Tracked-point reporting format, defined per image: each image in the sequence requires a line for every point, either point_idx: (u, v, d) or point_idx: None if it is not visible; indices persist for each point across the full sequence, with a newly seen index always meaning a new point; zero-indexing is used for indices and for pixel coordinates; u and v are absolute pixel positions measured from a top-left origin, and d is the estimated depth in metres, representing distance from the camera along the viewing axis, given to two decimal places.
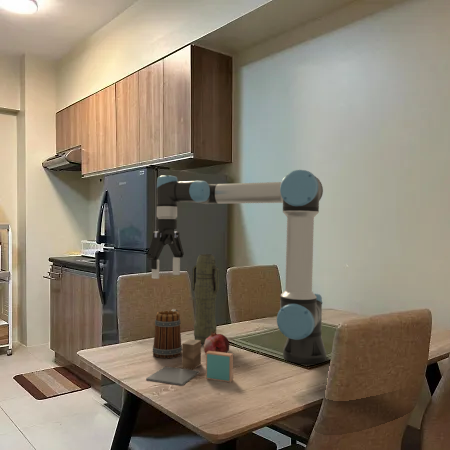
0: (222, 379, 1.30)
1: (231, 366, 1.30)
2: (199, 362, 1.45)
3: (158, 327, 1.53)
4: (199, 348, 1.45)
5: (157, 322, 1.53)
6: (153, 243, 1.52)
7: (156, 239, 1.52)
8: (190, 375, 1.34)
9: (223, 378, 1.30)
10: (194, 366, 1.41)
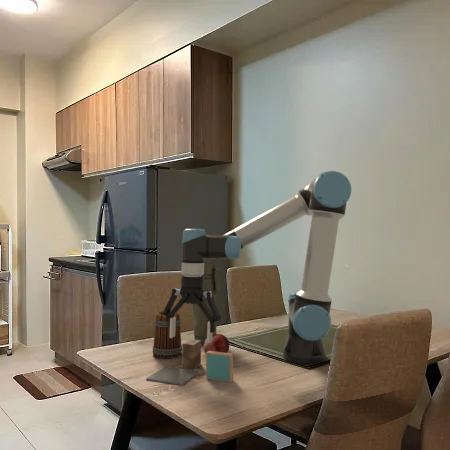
0: (222, 379, 1.30)
1: (231, 366, 1.30)
2: (199, 362, 1.45)
3: (158, 327, 1.53)
4: (199, 348, 1.45)
5: (157, 322, 1.53)
6: None
7: None
8: (190, 375, 1.34)
9: (223, 378, 1.30)
10: (194, 366, 1.41)
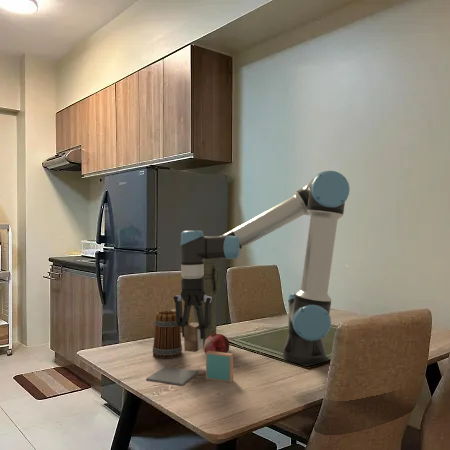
0: (222, 379, 1.30)
1: (231, 366, 1.30)
2: None
3: (158, 327, 1.53)
4: None
5: (157, 322, 1.53)
6: None
7: None
8: (190, 375, 1.34)
9: (223, 378, 1.30)
10: (196, 348, 1.41)
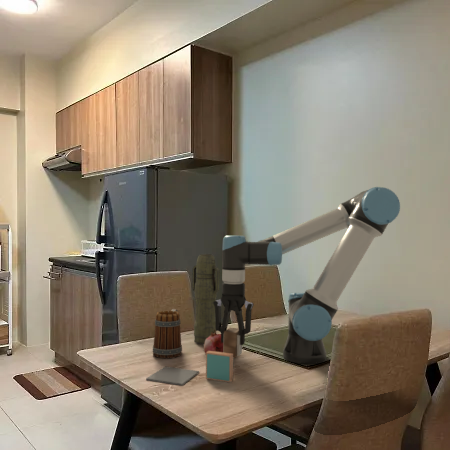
0: (222, 379, 1.30)
1: (231, 366, 1.30)
2: None
3: (158, 327, 1.53)
4: None
5: (157, 322, 1.53)
6: None
7: None
8: (190, 375, 1.34)
9: (223, 378, 1.30)
10: (236, 354, 1.40)
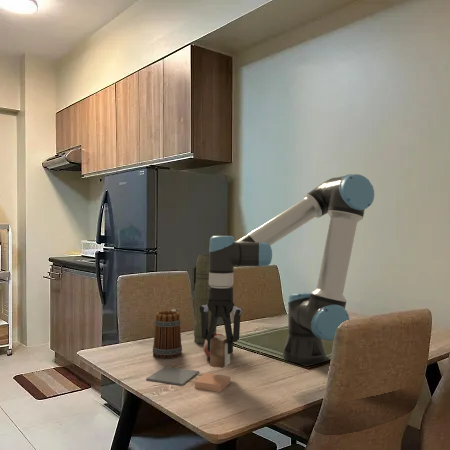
0: None
1: (225, 385, 1.25)
2: None
3: (158, 327, 1.53)
4: None
5: (157, 322, 1.53)
6: None
7: None
8: (190, 375, 1.34)
9: None
10: (223, 364, 1.30)
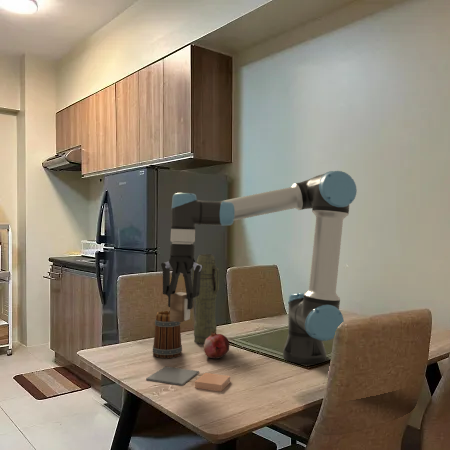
0: None
1: (225, 385, 1.25)
2: None
3: (158, 327, 1.53)
4: None
5: (157, 322, 1.53)
6: None
7: None
8: (190, 375, 1.34)
9: None
10: (182, 319, 1.32)
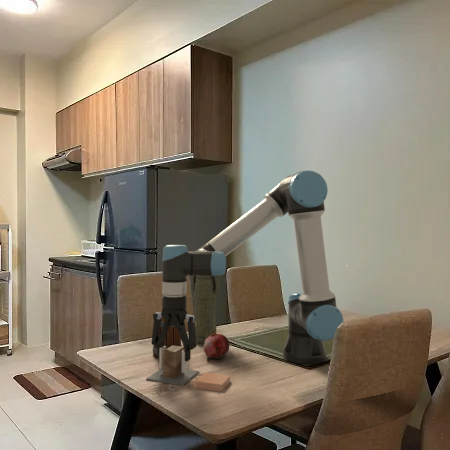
0: None
1: (225, 385, 1.26)
2: None
3: None
4: None
5: None
6: None
7: None
8: (190, 375, 1.34)
9: None
10: (176, 375, 1.31)
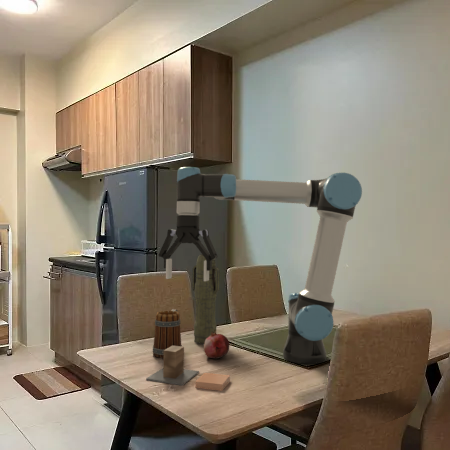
0: None
1: (225, 384, 1.26)
2: (182, 370, 1.35)
3: (158, 327, 1.53)
4: (182, 355, 1.35)
5: (157, 322, 1.53)
6: None
7: None
8: (190, 375, 1.34)
9: None
10: (176, 375, 1.31)
